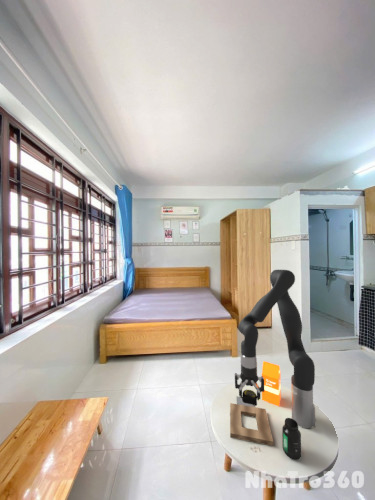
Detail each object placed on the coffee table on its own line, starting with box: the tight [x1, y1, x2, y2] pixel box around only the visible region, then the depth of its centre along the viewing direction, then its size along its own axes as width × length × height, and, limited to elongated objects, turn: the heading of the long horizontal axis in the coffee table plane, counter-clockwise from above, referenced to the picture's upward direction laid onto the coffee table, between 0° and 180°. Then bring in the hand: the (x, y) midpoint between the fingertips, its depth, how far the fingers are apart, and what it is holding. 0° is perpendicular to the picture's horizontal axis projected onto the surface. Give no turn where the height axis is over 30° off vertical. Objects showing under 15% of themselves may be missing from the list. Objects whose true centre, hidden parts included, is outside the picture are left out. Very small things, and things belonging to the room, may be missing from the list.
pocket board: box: [229, 402, 274, 447], centre depth 92 cm, size 18×18×2 cm
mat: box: [235, 395, 255, 407], centre depth 105 cm, size 9×8×1 cm
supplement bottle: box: [281, 417, 302, 461], centre depth 79 cm, size 7×7×12 cm
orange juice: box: [261, 360, 282, 407], centre depth 109 cm, size 8×9×20 cm
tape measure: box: [242, 389, 258, 407], centre depth 93 cm, size 7×7×4 cm
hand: (249, 397), depth 92 cm, fingers closed on tape measure, 7 cm apart
